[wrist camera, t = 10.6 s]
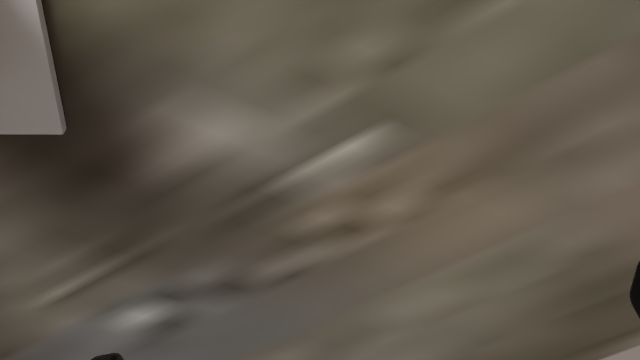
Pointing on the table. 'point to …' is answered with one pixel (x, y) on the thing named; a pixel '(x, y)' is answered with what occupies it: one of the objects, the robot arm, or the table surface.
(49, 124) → the wall board
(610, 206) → the table surface
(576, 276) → the table surface
